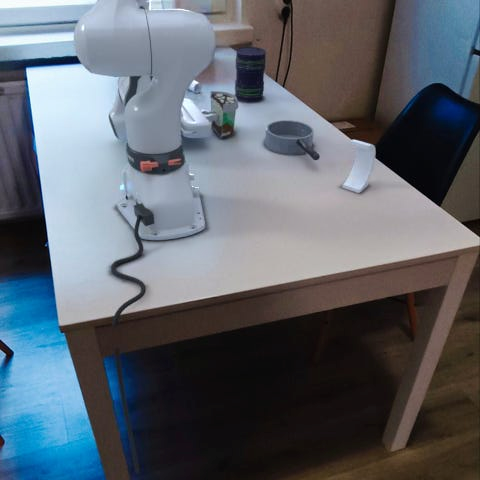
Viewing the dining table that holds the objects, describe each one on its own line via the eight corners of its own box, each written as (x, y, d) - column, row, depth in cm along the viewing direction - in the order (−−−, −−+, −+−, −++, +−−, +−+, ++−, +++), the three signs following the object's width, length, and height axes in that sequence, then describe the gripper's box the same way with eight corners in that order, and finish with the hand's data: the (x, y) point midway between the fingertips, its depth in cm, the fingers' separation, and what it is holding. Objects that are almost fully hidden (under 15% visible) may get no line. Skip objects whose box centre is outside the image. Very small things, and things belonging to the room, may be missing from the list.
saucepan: (319, 151, 136) (322, 135, 133) (276, 157, 132) (277, 141, 130) (299, 133, 146) (301, 118, 143) (258, 138, 142) (259, 122, 139)
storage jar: (247, 104, 162) (250, 46, 151) (228, 96, 168) (229, 39, 157) (269, 98, 168) (273, 41, 156) (250, 90, 173) (252, 35, 162)
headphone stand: (341, 187, 121) (350, 140, 113) (352, 178, 124) (361, 132, 117) (359, 193, 119) (369, 146, 111) (369, 184, 122) (379, 137, 115)
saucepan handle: (320, 161, 125) (321, 154, 124) (314, 162, 125) (315, 155, 124) (300, 142, 134) (301, 136, 133) (294, 143, 133) (295, 137, 132)
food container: (243, 138, 141) (245, 103, 135) (223, 140, 139) (224, 105, 133) (229, 122, 150) (230, 89, 144) (210, 124, 148) (210, 90, 142)
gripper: (178, 123, 127) (229, 117, 131) (160, 96, 142) (206, 92, 146) (180, 146, 131) (228, 140, 135) (161, 118, 146) (206, 113, 150)
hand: (216, 115), depth 140 cm, fingers closed, pressing on food container
